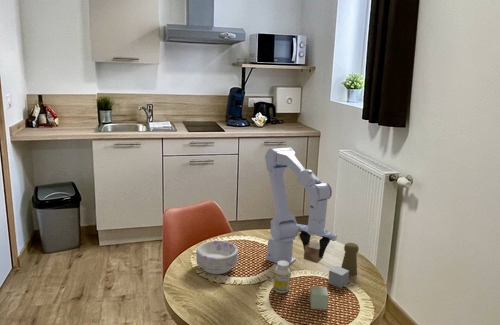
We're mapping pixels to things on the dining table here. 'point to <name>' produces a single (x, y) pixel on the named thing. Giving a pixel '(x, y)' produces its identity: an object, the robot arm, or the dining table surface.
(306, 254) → the walnut block
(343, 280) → the slate grey block
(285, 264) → the supplement bottle
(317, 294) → the sage green block
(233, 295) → the dining table surface
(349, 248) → the olive brown rounded piece
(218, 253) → the white purple bowl
